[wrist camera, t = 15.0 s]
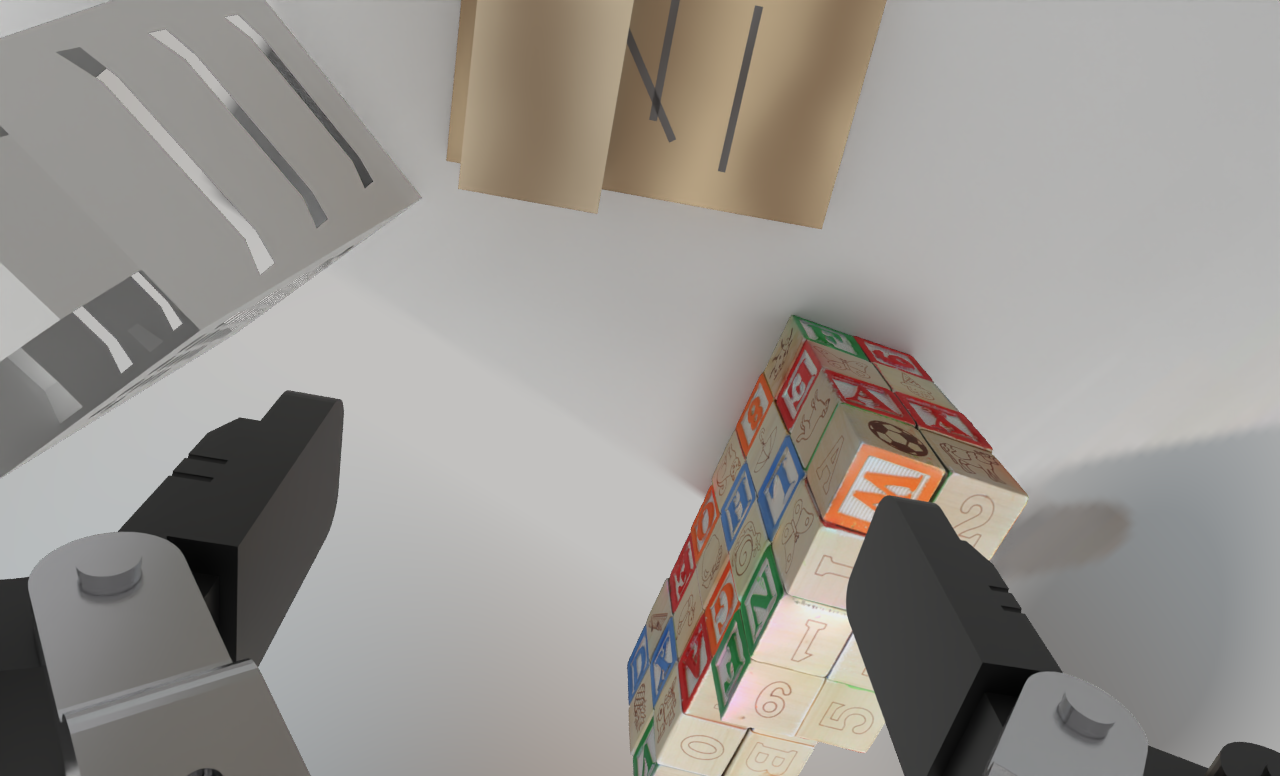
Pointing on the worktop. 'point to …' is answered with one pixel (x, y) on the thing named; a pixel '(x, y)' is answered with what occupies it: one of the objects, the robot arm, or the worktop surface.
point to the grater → (156, 200)
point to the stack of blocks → (799, 559)
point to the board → (727, 102)
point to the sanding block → (543, 99)
